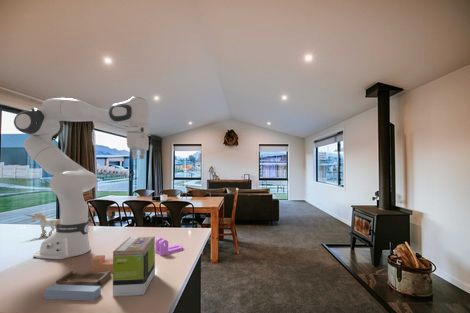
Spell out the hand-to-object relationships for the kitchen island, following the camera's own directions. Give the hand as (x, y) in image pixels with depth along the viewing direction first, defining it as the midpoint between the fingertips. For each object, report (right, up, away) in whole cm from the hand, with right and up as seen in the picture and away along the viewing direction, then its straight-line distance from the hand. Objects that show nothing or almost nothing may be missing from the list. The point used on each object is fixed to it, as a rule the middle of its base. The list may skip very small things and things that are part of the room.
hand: (138, 158), depth 116 cm
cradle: (-7, -44, -30) cm, 54 cm away
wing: (-5, -44, -40) cm, 60 cm away
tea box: (+12, -44, -33) cm, 56 cm away
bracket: (+15, -46, +1) cm, 48 cm away
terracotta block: (-4, -44, -20) cm, 49 cm away
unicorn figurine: (-65, -46, +23) cm, 83 cm away
